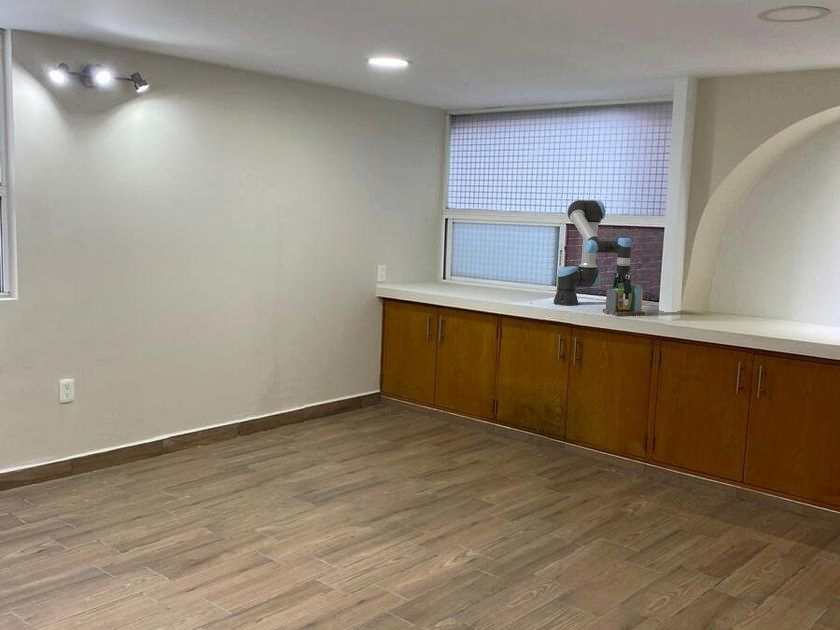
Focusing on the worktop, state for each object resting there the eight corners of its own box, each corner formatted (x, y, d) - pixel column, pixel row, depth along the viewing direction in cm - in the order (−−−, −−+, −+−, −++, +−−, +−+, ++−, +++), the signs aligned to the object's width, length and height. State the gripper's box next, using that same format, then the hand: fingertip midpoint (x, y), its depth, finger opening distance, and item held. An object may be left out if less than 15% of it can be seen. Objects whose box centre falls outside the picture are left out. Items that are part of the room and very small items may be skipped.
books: (624, 309, 472) (626, 283, 470) (631, 309, 474) (633, 283, 471) (634, 311, 462) (636, 285, 460) (642, 311, 463) (643, 285, 461)
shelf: (602, 312, 471) (602, 308, 471) (629, 311, 476) (629, 308, 476) (616, 316, 456) (616, 312, 456) (644, 315, 461) (644, 312, 461)
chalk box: (616, 310, 460) (618, 284, 457) (609, 307, 469) (611, 282, 466) (631, 310, 462) (633, 284, 459) (624, 307, 471) (625, 282, 468)
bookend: (605, 309, 468) (606, 289, 466) (606, 309, 468) (608, 289, 467) (614, 312, 459) (615, 291, 457) (615, 312, 459) (617, 291, 457)
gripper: (607, 263, 471) (605, 301, 474) (627, 266, 450) (625, 306, 453) (619, 263, 473) (616, 301, 476) (639, 266, 452) (636, 306, 455)
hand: (620, 303), depth 465 cm, fingers open, 9 cm apart
